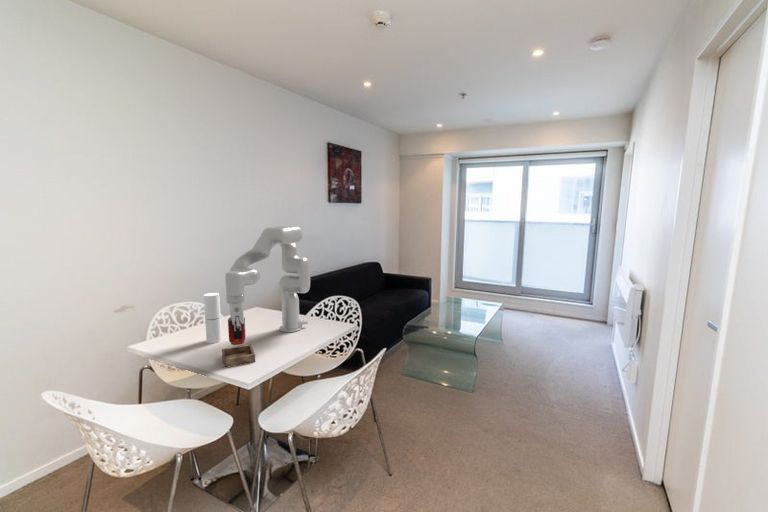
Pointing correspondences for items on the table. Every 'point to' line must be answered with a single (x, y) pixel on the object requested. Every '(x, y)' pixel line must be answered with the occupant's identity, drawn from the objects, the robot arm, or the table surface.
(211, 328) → the cylindrical container
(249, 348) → the tray
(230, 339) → the soda can
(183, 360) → the table surface
